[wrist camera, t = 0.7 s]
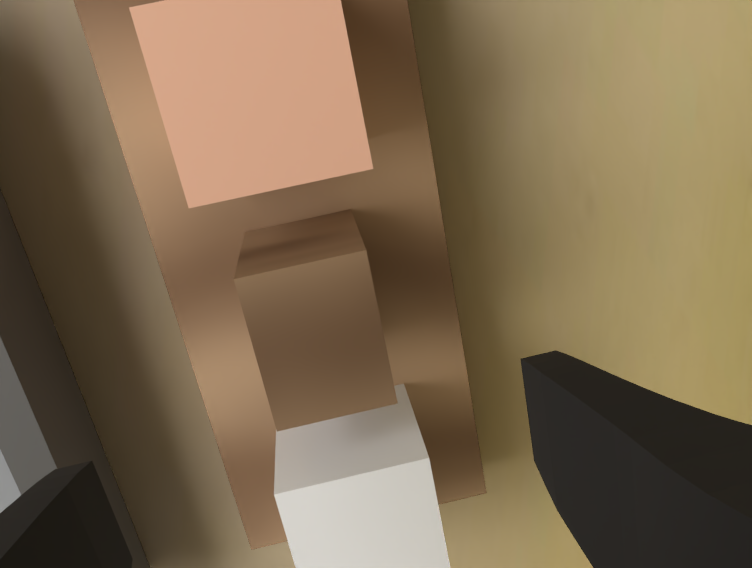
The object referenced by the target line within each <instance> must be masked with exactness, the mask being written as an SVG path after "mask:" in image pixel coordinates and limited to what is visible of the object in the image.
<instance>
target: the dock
mask: <svg viewBox="0 0 752 568" xmlns="http://www.w3.org/2000/svg"><path fill="white" fill-rule="evenodd" d="M88 461H93V464H94V466H95V469H96V471H97V473H98V476H99V478H100V481H101V483H102V486H103V488H104V490H105V493H106V495H107V498H108V500H109V503H110V505H111V507H112V510H113V512H114V515H115V517H116V520H117V522H118V524H119V527H120V529H121V532H122V534H123V537H124V539H125V541H126V544H127V546H128V549H129V551H130V554H131V556H132V558H133V561H132V568H150V566H149V564H148V561H147V559H146V556H145V554H144V551H143V548H142V546H141V543H140V541H139V538H138V536H137V533H136V531H135V528H134V526H133V523H132V521H131V518H130V516H129V513H128V511H127V508H126V506H125V503H124V500H123V498H122V495H121V493H120V490H119V488H118V485H117V483H116V480H115V478H114V475H113V473H112V470H111V468H110V465H109V463H108V460H107V458H106V455H105V453H104V450H103V447H102V445H101V442H100V440H99V437H98V435H97V432H96V430H95V427H94V425H93V422H92V420H91V417H90V415H89V412H88V410H87V407H86V405H85V402H84V400H83V397H82V394H81V392H80V389H79V387H78V384H77V382H76V379H75V377H74V374H73V372H72V369H71V367H70V364H69V362H68V359H67V357H66V354H65V352H64V349H63V347H62V344H61V341H60V339H59V336H58V334H57V331H56V329H55V326H54V324H53V321H52V319H51V316H50V314H49V311H48V309H47V306H46V304H45V301H44V299H43V296H42V294H41V291H40V288H39V286H38V283H37V281H36V278H35V276H34V273H33V271H32V268H31V266H30V263H29V261H28V258H27V256H26V253H25V251H24V248H23V246H22V243H21V241H20V238H19V235H18V233H17V230H16V228H15V225H14V223H13V220H12V218H11V215H10V213H9V210H8V208H7V205H6V203H5V200H4V198H3V195H2V193H1V190H0V513H1V512H2V511H3V510H5V509H6V508H7V507H8V506H9V505H10V504H12V503H13V502H14V501H15V500H16V499H17V498H19V497H20V496H21V495H22V494H23V493H24V492H26V491H27V490H28V489H29V488H31V487H32V486H33V485H34V484H35V483H37V482H38V481H39V480H41V479H42V478H43V477H45V476H46V475H47V474H49V473H50V472H52V471H53V470H55V469H58V468H63V467H67V466H71V465H75V464H80V463H84V462H88Z"/></svg>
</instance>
